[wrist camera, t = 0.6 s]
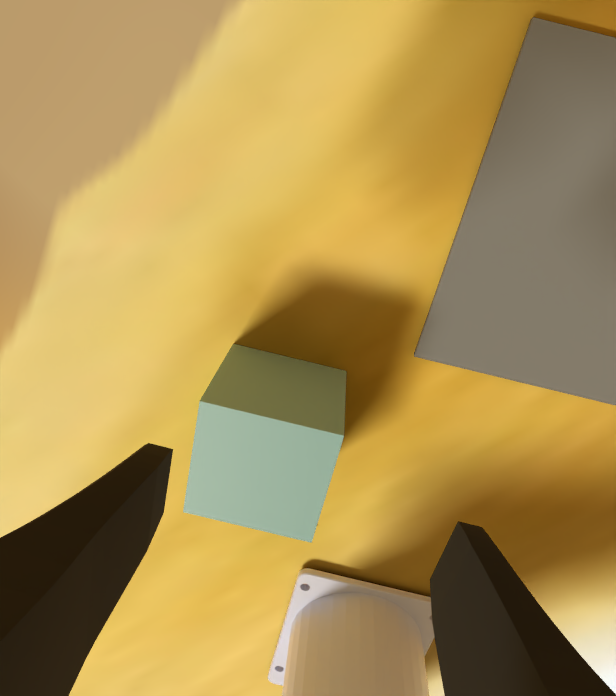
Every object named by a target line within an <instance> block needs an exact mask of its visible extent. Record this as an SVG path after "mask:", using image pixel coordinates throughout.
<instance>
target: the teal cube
mask: <svg viewBox="0 0 616 696" xmlns="http://www.w3.org/2000/svg"><path fill="white" fill-rule="evenodd" d="M346 373H347V371H344V370H340V369H336V368H332V367H328V366H324V365H320V364H316V363H311V362H307V361H303V360H299V359H295V358H291V357H287V356H282V355H278V354H274V353H270V352H266V351H262V350H258V349H254V348H249V347H245V346H241V345H237V344H233V345H232V347H231V349H230V350H229V352H228V354H227V356H226V357H225V359H224V361H223V362H222V364H221V366H220V367H219V369H218V371H217V373H216V374H215V376H214V378H213V379H212V381H211V383H210V384H209V386H208V388H207V390H206V391H205V393H204V395H203V396H202V398H201V400H200V403H199V409H198V416H197V423H196V429H195V436H194V443H193V449H192V456H191V463H190V470H189V476H188V483H187V490H186V496H185V503H184V510H183V512H185V513H189V514H194V515H198V516H202V517H206V518H210V519H215V520H219V521H223V522H227V523H231V524H236V525H240V526H244V527H248V528H252V529H257V530H261V531H265V532H269V533H273V534H277V535H282V536H286V537H290V538H294V539H298V540H303V541H307V542H312V539H313V536H314V533H315V529H316V526H317V523H318V520H319V516H320V513H321V510H322V507H323V503H324V500H325V497H326V494H327V490H328V487H329V484H330V481H331V477H332V474H333V471H334V468H335V464H336V461H337V458H338V454H339V451H340V448H341V445H342V441H343V438H344V428H345V400H346Z"/></svg>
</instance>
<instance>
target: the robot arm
mask: <svg viewBox="0 0 616 696" xmlns="http://www.w3.org/2000/svg"><path fill="white" fill-rule="evenodd" d="M172 452H173V449H170V448H166V447H162V446H158V445H154V444H150V443H148V444H146V445H144V446H143V447H142V448H140V449H139V450H138V451H136V452H135V453H134V454H132V455H131V456H130V457H128V458H127V459H126V460H124V461H123V462H122V463H120V464H119V465H117V466H116V467H115V468H113V469H112V470H111V471H109V472H108V473H106V474H105V475H104V476H102V477H101V478H99V479H98V480H96V481H95V482H93V483H92V484H90V485H89V486H87V487H86V488H85V489H83V490H82V491H80V492H79V493H77V494H76V495H74V496H72V497H71V498H69V499H68V500H66V501H64V502H63V503H61V504H59V505H58V506H56V507H55V508H53V509H51V510H50V511H48V512H46V513H45V514H43V515H41V516H40V517H38V518H36V519H34V520H33V521H31V522H29V523H27V524H26V525H24V526H22V527H20V528H18V529H16V530H14V531H12V532H11V533H9V534H7V535H5V536H3V537H1V538H0V696H69V693H70V691H71V689H72V687H73V685H74V683H75V681H76V679H77V676H78V674H79V672H80V670H81V668H82V666H83V664H84V661H85V659H86V657H87V656H88V654H89V652H90V650H91V648H92V646H93V644H94V642H95V640H96V639H97V637H98V635H99V633H100V632H101V630H102V628H103V626H104V625H105V623H106V621H107V620H108V618H109V616H110V614H111V613H112V611H113V609H114V607H115V606H116V604H117V602H118V600H119V599H120V597H121V595H122V594H123V592H124V590H125V588H126V587H127V585H128V583H129V581H130V580H131V578H132V576H133V574H134V573H135V571H136V569H137V567H138V566H139V564H140V562H141V560H142V559H143V557H144V555H145V553H146V552H147V549H148V547H149V545H150V543H151V540H152V538H153V536H154V534H155V531H156V529H157V527H158V524H159V522H160V520H161V517H162V515H163V513H164V506H165V500H166V493H167V486H168V479H169V472H170V466H171V459H172ZM430 590H431V597H427V596H423V595H419V594H415V593H411V592H406V591H402V590H398V589H394V588H390V587H385V586H381V585H377V584H373V583H369V582H365V581H360V580H356V579H352V578H348V577H344V576H339V575H335V574H331V573H327V572H323V571H318V570H314V569H310V568H305V569H302V570H300V571H299V573H298V577H297V580H296V583H295V586H294V590H293V593H292V596H291V600H290V603H289V606H288V610H287V613H286V616H285V619H284V623H283V626H282V629H281V633H280V636H279V639H278V643H277V646H276V649H275V653H274V656H273V659H272V662H271V666H270V669H269V673H268V679H269V681H270V682H272V683H274V684H278V685H282V686H283V691H282V696H429V689H428V682H427V674H426V667H425V659H424V657H425V655H426V653H427V651H428V649H429V647H430V645H431V643H432V641H433V639H434V637H435V642H436V648H437V654H438V660H439V665H440V671H441V676H442V682H443V688H444V693H445V696H616V694H615V693H614V692H613V691H612V690H611V689H610V688H609V687H608V686H607V685H606V683H605V682H604V681H603V680H602V679H601V678H600V677H599V676H598V675H597V674H596V673H595V672H594V670H593V669H592V668H591V667H590V666H589V665H588V664H587V662H586V661H585V660H584V659H583V658H582V657H581V656H580V654H579V653H578V652H577V651H576V650H575V648H574V647H573V646H572V645H571V644H570V642H569V641H568V640H567V639H566V638H565V636H564V635H563V634H562V633H561V631H560V630H559V629H558V628H557V627H556V625H555V624H554V623H553V622H552V620H551V619H550V618H549V616H548V615H547V614H546V613H545V611H544V610H543V609H542V607H541V606H540V605H539V604H538V602H537V601H536V600H535V598H534V597H533V596H532V594H531V593H530V592H529V590H528V589H527V588H526V586H525V585H524V584H523V582H522V581H521V579H520V578H519V577H518V575H517V574H516V573H515V571H514V570H513V568H512V567H511V566H510V564H509V563H508V562H507V560H506V559H505V557H504V556H503V555H502V553H501V552H500V551H499V549H498V548H497V546H496V545H495V544H494V542H493V541H492V540H491V538H490V537H489V536H488V534H487V533H486V532H485V530H484V529H483V528H482V527H478V526H474V525H470V524H466V523H462V522H458V523H457V525H456V527H455V529H454V531H453V533H452V535H451V537H450V539H449V541H448V543H447V545H446V547H445V550H444V552H443V554H442V556H441V558H440V560H439V562H438V564H437V566H436V568H435V570H434V572H433V574H432V576H431V579H430Z"/></svg>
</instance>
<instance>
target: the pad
mask: <svg viewBox="0 0 616 696" xmlns="http://www.w3.org/2000/svg"><path fill="white" fill-rule="evenodd" d="M414 357H419V358H423V359H427V360H431V361H435V362H439V363H443V364H447V365H452V366H456V367H460V368H464V369H468V370H472V371H476V372H480V373H484V374H489V375H493V376H497V377H501V378H505V379H509V380H513V381H517V382H522V383H526V384H530V385H534V386H538V387H542V388H546V389H550V390H555V391H559V392H563V393H567V394H571V395H575V396H579V397H583V398H588V399H592V400H596V401H600V402H604V403H608V404H612V405H616V38H615V37H611V36H607V35H603V34H599V33H595V32H591V31H587V30H583V29H579V28H575V27H571V26H567V25H563V24H559V23H555V22H551V21H547V20H543V19H539V18H535V17H533V18H532V19H531V21H530V24H529V27H528V30H527V33H526V36H525V38H524V41H523V44H522V47H521V50H520V53H519V56H518V58H517V61H516V64H515V67H514V70H513V73H512V76H511V78H510V81H509V84H508V87H507V90H506V93H505V96H504V98H503V101H502V104H501V107H500V110H499V113H498V116H497V118H496V121H495V124H494V127H493V130H492V133H491V136H490V138H489V141H488V144H487V147H486V150H485V153H484V156H483V158H482V161H481V164H480V167H479V170H478V173H477V176H476V178H475V181H474V184H473V187H472V190H471V193H470V195H469V198H468V201H467V204H466V207H465V210H464V213H463V215H462V218H461V221H460V224H459V227H458V230H457V233H456V235H455V238H454V241H453V244H452V247H451V250H450V253H449V255H448V258H447V261H446V264H445V267H444V270H443V273H442V275H441V278H440V281H439V284H438V287H437V290H436V293H435V295H434V298H433V301H432V304H431V307H430V310H429V313H428V315H427V318H426V321H425V324H424V327H423V330H422V333H421V335H420V338H419V341H418V344H417V347H416V350H415V353H414Z"/></svg>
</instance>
